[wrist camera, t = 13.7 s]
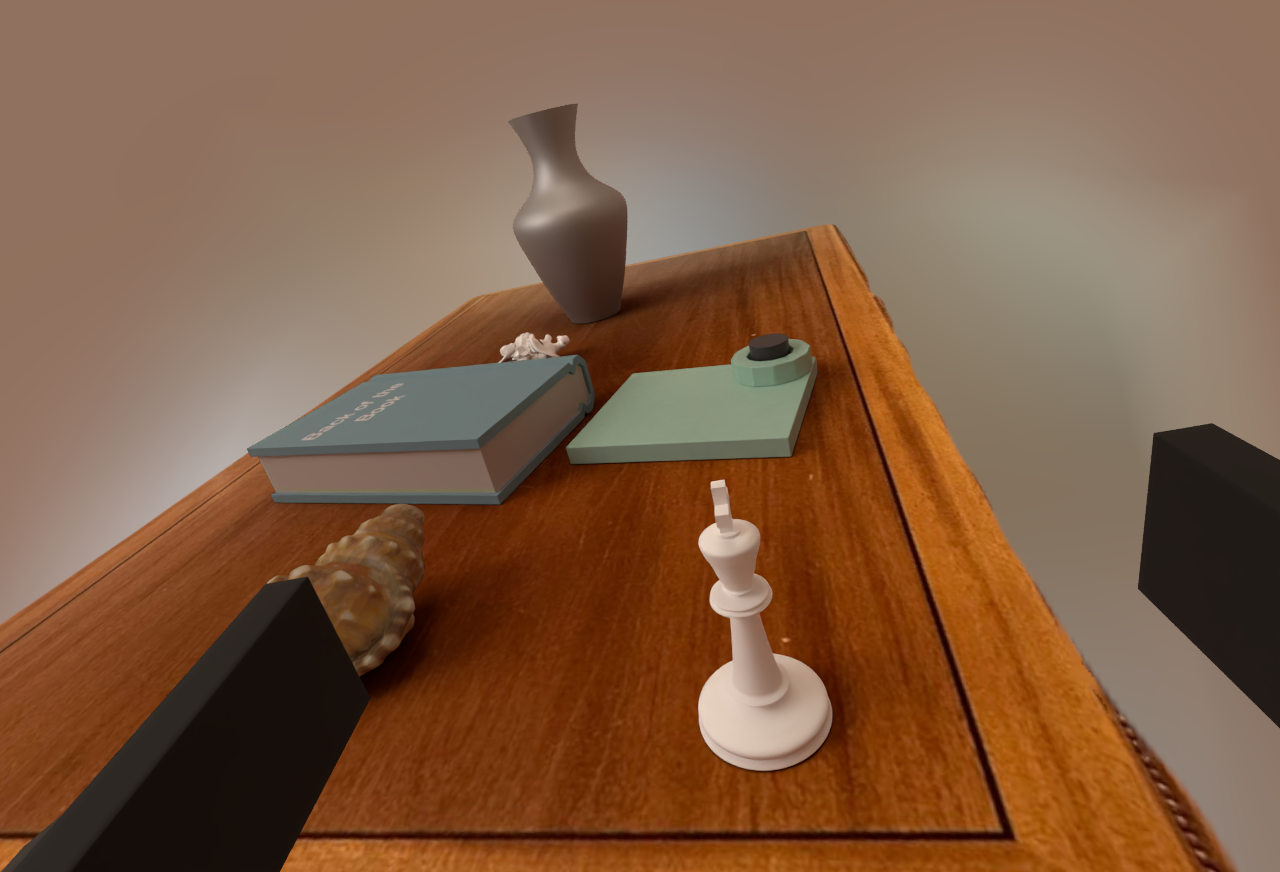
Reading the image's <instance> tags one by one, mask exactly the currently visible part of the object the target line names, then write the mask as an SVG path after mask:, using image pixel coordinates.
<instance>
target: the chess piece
mask: <svg viewBox="0 0 1280 872" xmlns="http://www.w3.org/2000/svg"><path fill="white" fill-rule="evenodd" d="M711 491H712V496H713V501H714V506H715V520H716V523H714V524H712V525H710V526H709V527H708V528H706V529H705V530H704V531H703V532H702V534H701V535H700V538H699V547H700V550H701V552H702V554H703V555H704V557H705V558H706V560H707V561H708V562H709V563H710V565H711V566H712V568H713V569H714V571H715V573H716V575H717V576H718V578H719V579H720V580H719V581H717V582H716V583H715V584H714V586H713V587H712V589H711V593H710V604H711V607H712V608H713V610H714V611H715V612H717V613H718V614H720V615H722V616H725V617H729V618H730V624H731V635H732V652H733V661H731V662H729V663H727V664H725V665H724V666H722V667H721V668H719V669H718V670H717V671H716V672H715V673H714V674H713V675H712V676H711V677H710V678H709V679H708V681H707V682H706V684H705V685H704V687H703V689H702V692H701V694H700V698H699V704H698V712H699V725H700V730H701V733H702V736H703V738H704V740H705V742H706V743H707V745H708V746H709V747H710V749H711V750H712V751H713V752H714V753H715V754H717V755H718V756H719V757H720V758H722V759H723V760H725V761H727V762H729V763H730V764H733V765H735V766H738V767H741V768H745V769H749V770H757V771H770V770H778V769H783V768H786V767H790V766H793V765H795V764H797V763H799V762H801V761H803V760H805V759H806V758H808V757H809V756H811V755H812V754H813V753H814V752H815V751H816V750H817V749H818V748H819V747H820V746H821V745H822V744H823V742H824V741H825V739H826V737H827V735H828V733H829V731H830V728H831V724H832V707H831V703H830V700H829V697H828V695H827V691H826V688H825V686H824V684H823V682H822V681H821V679H820V678H819V676H818V675H817V674H816V673H815V672H814V671H813V670H812V669H811V668H809V667H808V666H807V665H805V664H804V663H802V662H800V661H798V660H796V659H794V658H791V657H788V656H784V655H779V654H773V653H772V650H771V647H770V644H769V642H768V639H767V636H766V633H765V630H764V627H763V624H762V621H761V617H760V614H759V613H760V612H761V611H763V610H764V609H765V608H766V607H767V606H768V605H769V604H770V602H771V599H772V589H771V587H770V586H769V584H768V582H767V581H766V580H765V579H764V578H763V577H761V576H759V575H757V574H754V570H755V562H756V557H757V553H758V550H759V544H760V533H759V530H758V529H757V527H756V526H755V525H753V524H752V523H750V522H748V521H745V520H740V519H732V516H731V511H730V501H729V494H728V489H727V487H726V485H725V480H719V481H713V482H711Z"/></svg>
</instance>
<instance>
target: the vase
mask: <svg viewBox="0 0 1280 872" xmlns="http://www.w3.org/2000/svg"><path fill="white" fill-rule="evenodd" d="M576 113H577V104H570V105H565V106H560V107H556V108H551V109H547V110H543V111H540V112H536V113H532V114H528V115H524V116H521V117H518V118H515V119H512V120H510V121H508V122H509V124H510V125H511V126H512V128H513V129H514V130H515V132H516V133H517V134H518V136H519V137H520V139H521V141H522V142H523V144H524V146H525V147H526V149H527V151H528V153H529V155H530V157H531V160H532V164H533V170H534V178H533V185H532V190H531V192H530V195H529V197H528V199H527V200H526V202H525V203H524V204H523V206H522V207H521V209H520V210H519V212H518V213H517V215H516V217H515V219H514V223H513V229H514V233H515V236H516V238H517V240H518V242H519V244H520V246H521V248H522V249H523V251H524V252H525V254H526V256H527V257H528V259H529V261H530V262H531V264H532V266H533V267H534V269H535V270H536V272H537V274H538V275H539V277H540V278H541V280H542V281H543V283H544V285H545V286H546V288H547V289H548V290H549V292H550V293H551V295H552V296H553V298H554V299H555V300H556V302H557V303H558V304H559V306H560V307H561V308H562V309H563V311H564V312H565V313H566V314H567V316H568V317H569V318H570V320H571V321H572V322H573V323H575V324H577V323H589V322H594V321H598V320H602V319H605V318H607V317H610V316H612V315H614V314H616V313H617V312H618V311H619V310H620V303H621V296H622V290H623V283H624V274H625V261H626V242H627V241H626V240H627V205H626V201H625V199H624V197H623V196H622V194H621V193H620V192H618V191H617V190H615V189H614V188H612V187H610V186H608V185H606V184H603V183H602V182H600V181H598V180H596V179H595V178H594V177H592V176H591V175H590V174H589V173H588V172H587V170H586V169H585V168H584V167H583V165H582V163H581V162H580V160H579V157H578V155H577V151H576V147H575V122H576Z"/></svg>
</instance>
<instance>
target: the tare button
mask: <svg viewBox="0 0 1280 872" xmlns="http://www.w3.org/2000/svg"><path fill="white" fill-rule="evenodd" d="M749 350H750V356H751V360H752V361H759V362H761V361H772V360H775V359H779V358H783V357H785V356H787V355H789V354H790V348H789V341H788V337H787V336H786V335H784V334H769V335H764V336H760V337H757V338H755V339H753V340H751V341H750V342H749Z"/></svg>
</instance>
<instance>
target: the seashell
mask: <svg viewBox="0 0 1280 872" xmlns="http://www.w3.org/2000/svg"><path fill="white" fill-rule="evenodd" d="M424 520H425V519H424V514H423V512H422V511H421V510H420V509H419V508H417V507H415V506H412V505H409V504H396V505H392V506H390V507H388V508H387V509H385V510H384V511H383V513H382V514H381V515H379V516H378V517H375V518H373V519H370V520H368V521H366V522H364V523H362V524H361V525H360V527H359V528H358V530H357V532H356V533H355V534H354V535H352V536H345V537H343V538H342V539H341V540H340V541H339V542H336V543H332V544H330V545H329V546H328V547H327V550H326V552H325V554H323V555H322V556H321V557H320V558H319V559H318V561H317V562H316V564H315V565H312V566H310V565H303V566H300V567H298V568H296V569H294V570H292V571H291V573H290V575H289V576H279V575H278V576H275V577H274V578H272V579H271V580H270V581H269V582H268V583H273V582H279V581H285V580H290V579H296V578H302V577H308V578H309V580H310V582H311V584H312V585H313V587H314V589H315V591H316V593H317V595H318V597H319V599H320V601H321V603H322V605H323V607H324V609H325V611H326V613H327V615H328V617H329V618H330V620H331V622H332V624H333V626H334V628H335V630H336V632H337V634H338V636H339V638H340V640H341V642H342V644H343V646H344V648H345V650H346V651H347V653H348V655H349V657H350V659H351V661H352V663H353V665H354V667H355V669H356V671H357V673H358V675H359V676H361V675H363V674H365V673H367V672H369V671H371V670H372V669H374V668H376V667H378V666H379V665H380V664H381V663H383V661H384V659H385V658H386V656H388V655H389V654H390V653H391V652H392V651H394V650H395V649H396V648H398V646H399V645H400V643H401V641H402V639H403V638H404V636H405V635H406V633H407V632H409V631H410V630H411V629H412V628H413V625H414V619H415V618H414V615H413V612H414V610H415V604H414V600H413V597H412V593H413V592H414V591H415V589H416V588H417V586H418V584H419V583H420V581H421V579H422V578H423V576H424V573H425V564H424V560H423V556H422V552H421V547H422V546H423V543H424V539H425V535H424V529H423V527H422V526H423V524H424Z"/></svg>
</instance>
